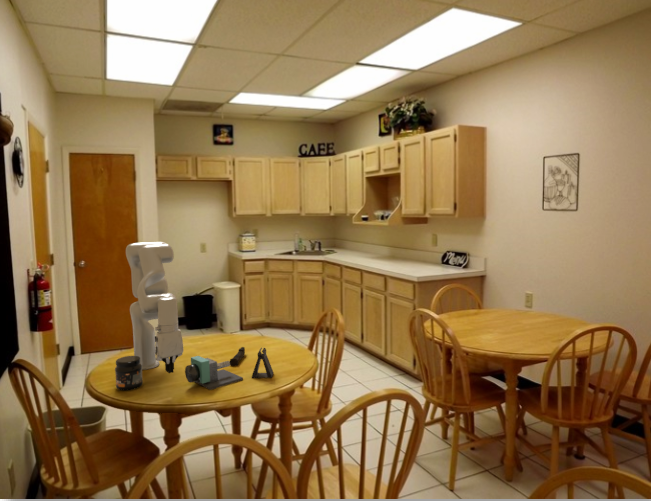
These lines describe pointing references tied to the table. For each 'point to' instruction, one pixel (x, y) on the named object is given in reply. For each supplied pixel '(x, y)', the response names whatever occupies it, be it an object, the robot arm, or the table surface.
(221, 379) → the base plate
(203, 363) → the spacer
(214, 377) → the bracket
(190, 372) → the shaft
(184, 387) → the table surface
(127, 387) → the supplement container
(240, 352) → the hand tool
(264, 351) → the phone stand
